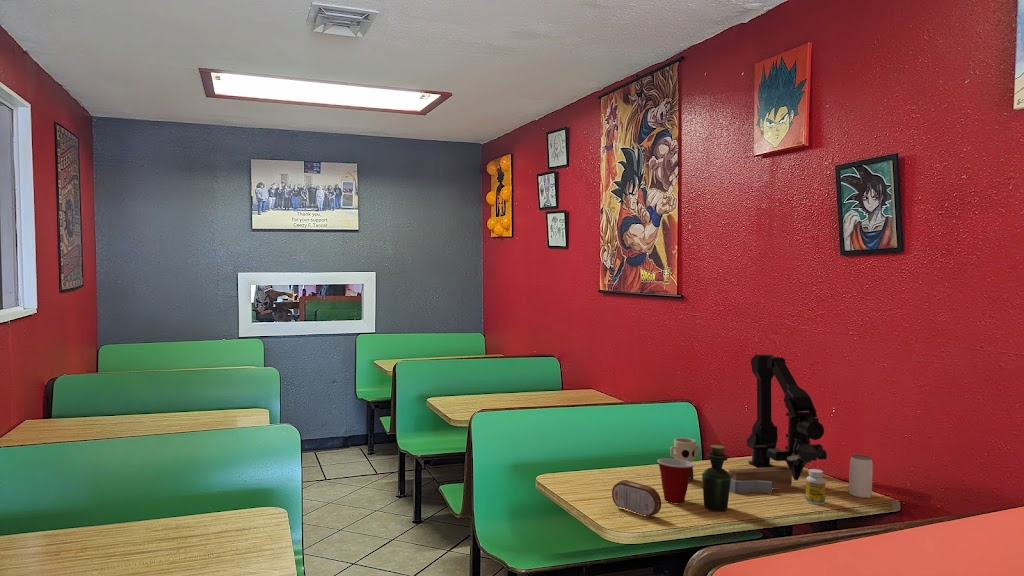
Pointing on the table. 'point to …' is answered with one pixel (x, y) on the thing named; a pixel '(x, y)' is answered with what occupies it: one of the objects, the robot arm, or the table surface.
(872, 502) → the table surface
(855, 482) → the can
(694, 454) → the character mug
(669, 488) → the plastic cup
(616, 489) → the tin
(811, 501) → the supplement bottle
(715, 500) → the potion bottle
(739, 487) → the grey stepped block
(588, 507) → the table surface
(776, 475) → the walnut slat
